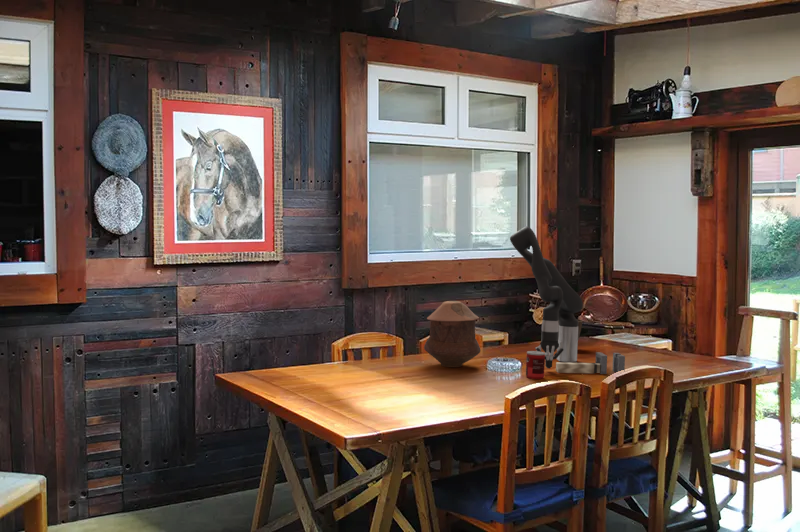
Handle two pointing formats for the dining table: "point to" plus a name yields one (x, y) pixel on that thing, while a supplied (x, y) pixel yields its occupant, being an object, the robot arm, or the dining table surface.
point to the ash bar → (577, 367)
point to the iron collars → (617, 362)
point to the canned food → (535, 364)
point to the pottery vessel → (452, 334)
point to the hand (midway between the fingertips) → (548, 368)
